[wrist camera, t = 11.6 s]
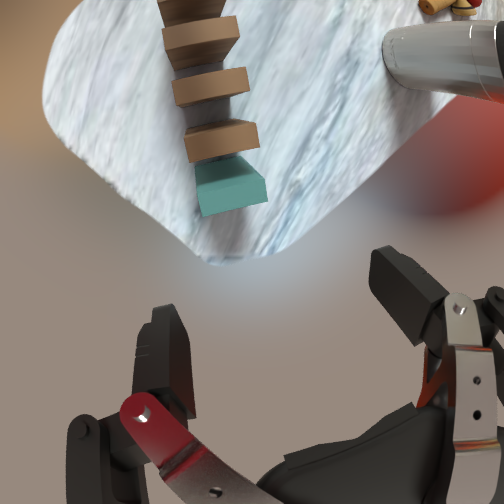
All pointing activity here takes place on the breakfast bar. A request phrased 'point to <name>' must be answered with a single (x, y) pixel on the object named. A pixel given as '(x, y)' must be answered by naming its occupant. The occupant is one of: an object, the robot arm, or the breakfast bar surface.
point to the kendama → (462, 5)
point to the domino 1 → (189, 10)
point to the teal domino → (228, 186)
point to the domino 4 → (220, 139)
